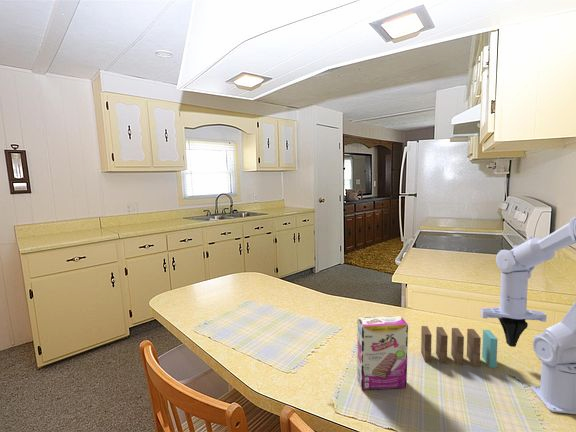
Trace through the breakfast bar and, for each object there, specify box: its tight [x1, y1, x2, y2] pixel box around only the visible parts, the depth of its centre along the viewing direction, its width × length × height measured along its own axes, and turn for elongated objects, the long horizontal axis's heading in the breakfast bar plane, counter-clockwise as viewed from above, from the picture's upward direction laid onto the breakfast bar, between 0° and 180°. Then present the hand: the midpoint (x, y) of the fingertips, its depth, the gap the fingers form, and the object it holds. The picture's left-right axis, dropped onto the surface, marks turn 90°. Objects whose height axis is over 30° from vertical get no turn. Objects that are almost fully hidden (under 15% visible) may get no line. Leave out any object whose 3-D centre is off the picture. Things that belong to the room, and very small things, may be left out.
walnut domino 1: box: [420, 325, 433, 363], centre depth 88 cm, size 2×5×8 cm, turn 167°
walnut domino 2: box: [435, 326, 449, 365], centre depth 87 cm, size 2×5×8 cm, turn 168°
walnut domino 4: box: [466, 328, 482, 368], centre depth 85 cm, size 2×5×8 cm, turn 168°
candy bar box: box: [356, 315, 409, 391], centre depth 77 cm, size 11×5×16 cm, turn 92°
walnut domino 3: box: [450, 327, 465, 366], centre depth 86 cm, size 2×5×8 cm, turn 168°
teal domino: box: [481, 329, 499, 369], centre depth 85 cm, size 2×5×8 cm, turn 168°
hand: (511, 344), depth 83 cm, fingers closed
